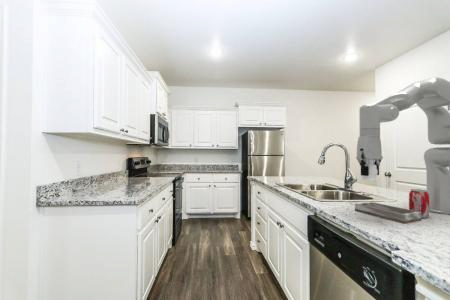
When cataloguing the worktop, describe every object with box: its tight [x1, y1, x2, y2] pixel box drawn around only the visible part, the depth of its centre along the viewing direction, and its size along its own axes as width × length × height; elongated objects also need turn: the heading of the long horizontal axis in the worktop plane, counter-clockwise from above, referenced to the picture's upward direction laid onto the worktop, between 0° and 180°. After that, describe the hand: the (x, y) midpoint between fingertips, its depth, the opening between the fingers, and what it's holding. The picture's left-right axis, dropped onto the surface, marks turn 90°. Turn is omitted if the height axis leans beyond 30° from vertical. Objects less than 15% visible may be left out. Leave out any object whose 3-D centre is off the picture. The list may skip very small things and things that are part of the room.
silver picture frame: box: [354, 201, 423, 224], centre depth 105 cm, size 12×22×4 cm, turn 23°
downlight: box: [359, 158, 379, 182], centre depth 99 cm, size 8×7×10 cm
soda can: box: [408, 188, 430, 219], centre depth 104 cm, size 7×7×12 cm
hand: (369, 174), depth 99 cm, fingers closed on downlight, 5 cm apart
